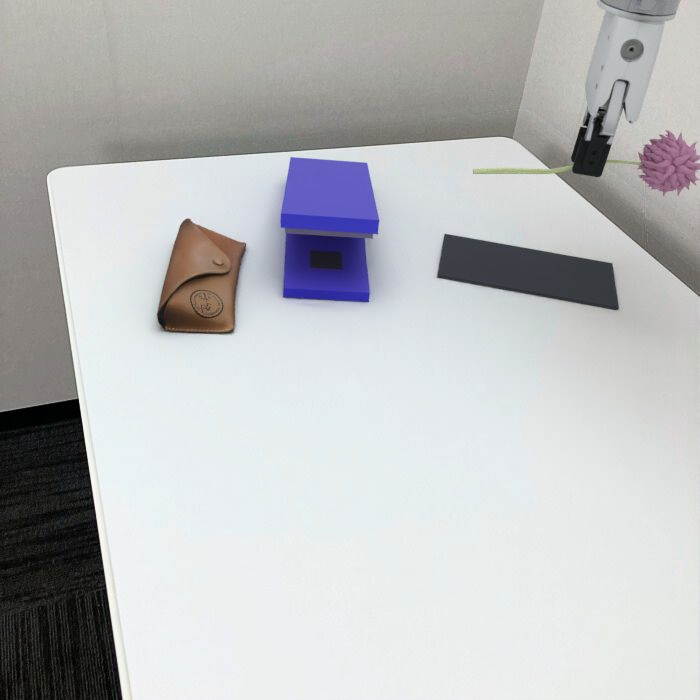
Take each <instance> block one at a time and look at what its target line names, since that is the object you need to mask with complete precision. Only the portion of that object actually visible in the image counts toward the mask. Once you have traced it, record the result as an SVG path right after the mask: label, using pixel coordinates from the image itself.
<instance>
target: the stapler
mask: <svg viewBox="0 0 700 700" xmlns="http://www.w3.org/2000/svg"><path fill="white" fill-rule="evenodd" d="M287 169H288V170H287V174H286V175H287V176H286V181H285V186H284V194H283V199H282V205H281V211H280V226H279V227H280V228H281V229H284V234H285V243H284V244H285V245H284V263H283V266H284V267H283V286H282V288H283V289H282V298H285V299H286V298H289V299H304V300H305V299H307V300H325V301H342V302H344V301H346V302H362V303H363V302H364V303H365V302H366V303H369V302H370V295H371V289H370V280H369V269H368V258H367V249H366V239H371V240H373V238H374V235H379V226H380V217H379V213H378V208H377V203H376V199H375V193H374V189H373V183H372V179H371V174H370V169H369V165H368V162H364V161H363V162H362V161H350V160H349V161H348V160H336V159H334V160H333V159H323V158H322V159H321V158H309V157H308V158H307V157H294V156H290V157H289V163H288V168H287Z"/></svg>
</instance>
